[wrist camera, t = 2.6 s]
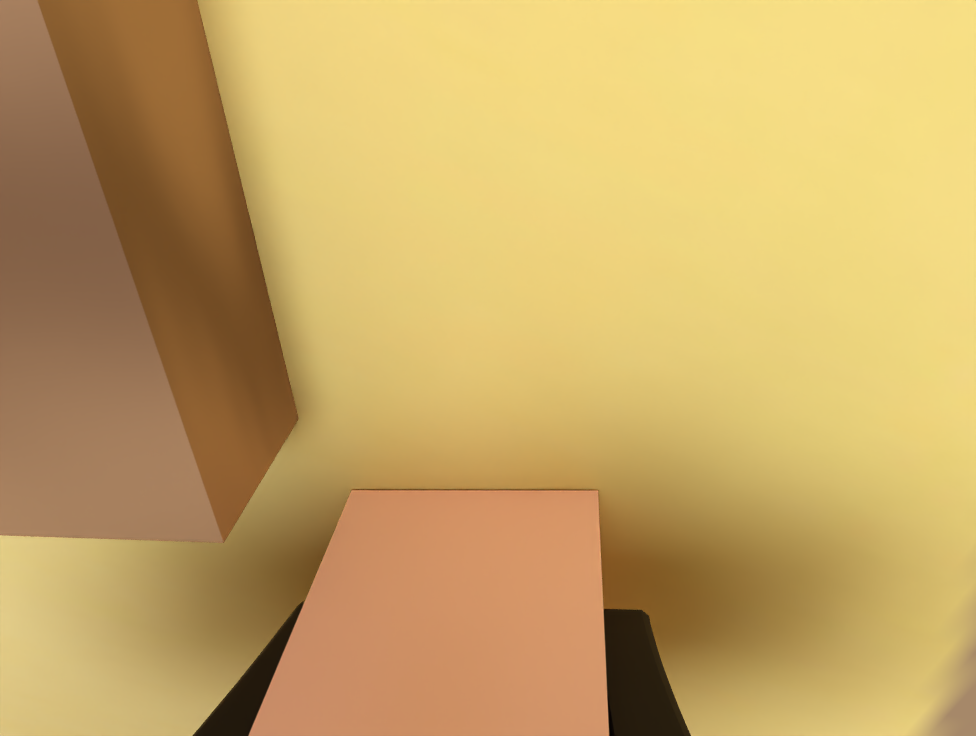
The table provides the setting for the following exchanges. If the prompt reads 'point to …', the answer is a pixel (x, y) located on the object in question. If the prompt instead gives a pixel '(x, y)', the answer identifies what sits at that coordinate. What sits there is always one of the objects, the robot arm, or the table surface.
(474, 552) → the pink block
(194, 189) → the brown block
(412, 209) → the table surface
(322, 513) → the table surface
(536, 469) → the table surface
